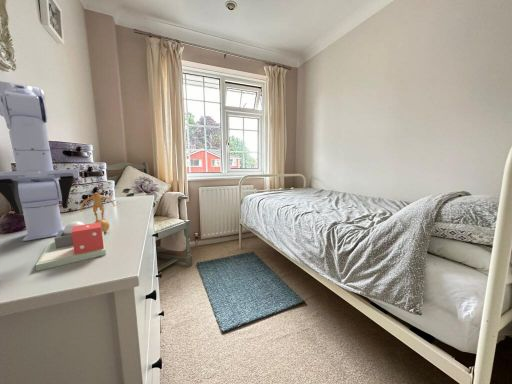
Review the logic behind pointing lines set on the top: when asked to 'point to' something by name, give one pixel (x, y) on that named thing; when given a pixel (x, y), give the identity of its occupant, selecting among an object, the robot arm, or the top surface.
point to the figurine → (97, 201)
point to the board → (64, 255)
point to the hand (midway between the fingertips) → (43, 210)
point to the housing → (63, 240)
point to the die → (87, 237)
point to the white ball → (71, 227)
